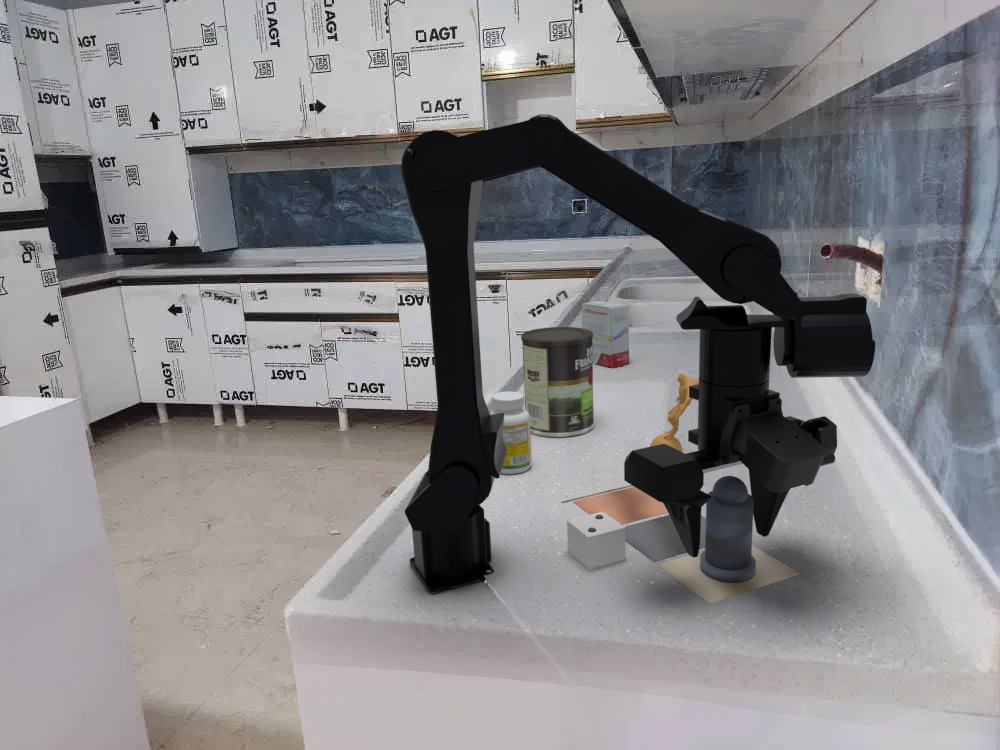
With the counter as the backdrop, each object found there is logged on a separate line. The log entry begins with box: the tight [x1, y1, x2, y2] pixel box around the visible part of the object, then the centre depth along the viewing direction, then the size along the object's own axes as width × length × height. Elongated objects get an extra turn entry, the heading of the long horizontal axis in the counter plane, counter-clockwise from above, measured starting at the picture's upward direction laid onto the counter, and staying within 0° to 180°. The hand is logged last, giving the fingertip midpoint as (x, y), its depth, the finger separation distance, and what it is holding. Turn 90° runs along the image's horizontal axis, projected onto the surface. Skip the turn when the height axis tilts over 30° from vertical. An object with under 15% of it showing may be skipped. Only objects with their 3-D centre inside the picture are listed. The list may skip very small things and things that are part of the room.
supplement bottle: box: [489, 391, 533, 475], centre depth 94 cm, size 5×5×10 cm
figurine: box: [649, 372, 699, 452], centre depth 92 cm, size 8×6×12 cm
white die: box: [566, 511, 627, 571], centre depth 71 cm, size 4×4×4 cm
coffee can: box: [520, 326, 595, 438], centre depth 109 cm, size 10×10×14 cm
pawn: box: [700, 475, 756, 583], centre depth 66 cm, size 5×5×9 cm
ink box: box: [581, 300, 630, 369], centre depth 145 cm, size 9×5×12 cm, turn 34°
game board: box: [561, 484, 801, 605], centre depth 75 cm, size 12×25×1 cm, turn 24°
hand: (728, 545), depth 67 cm, fingers open, 8 cm apart
